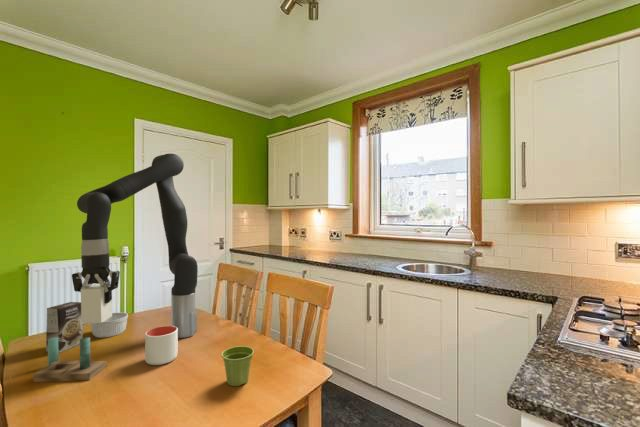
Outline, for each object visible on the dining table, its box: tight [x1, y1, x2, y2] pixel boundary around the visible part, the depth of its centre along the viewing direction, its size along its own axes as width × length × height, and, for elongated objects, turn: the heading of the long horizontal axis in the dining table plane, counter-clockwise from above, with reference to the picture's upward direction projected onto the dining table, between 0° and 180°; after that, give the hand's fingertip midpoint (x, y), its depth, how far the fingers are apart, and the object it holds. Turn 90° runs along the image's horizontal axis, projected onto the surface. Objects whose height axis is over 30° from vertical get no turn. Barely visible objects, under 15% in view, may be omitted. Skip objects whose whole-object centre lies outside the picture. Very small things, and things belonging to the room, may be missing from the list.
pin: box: [47, 337, 59, 366], centre depth 102 cm, size 3×3×9 cm
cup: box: [144, 325, 179, 366], centre depth 107 cm, size 10×10×10 cm
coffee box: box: [45, 301, 84, 354], centre depth 117 cm, size 9×6×16 cm
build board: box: [33, 360, 80, 383], centre depth 97 cm, size 8×8×2 cm
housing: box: [80, 284, 113, 325], centre depth 103 cm, size 6×6×11 cm
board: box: [61, 336, 107, 382], centre depth 97 cm, size 8×8×11 cm
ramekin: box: [90, 311, 129, 339], centre depth 131 cm, size 13×13×7 cm
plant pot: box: [220, 345, 255, 387], centre depth 93 cm, size 9×9×9 cm
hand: (96, 303), depth 103 cm, fingers closed on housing, 6 cm apart
